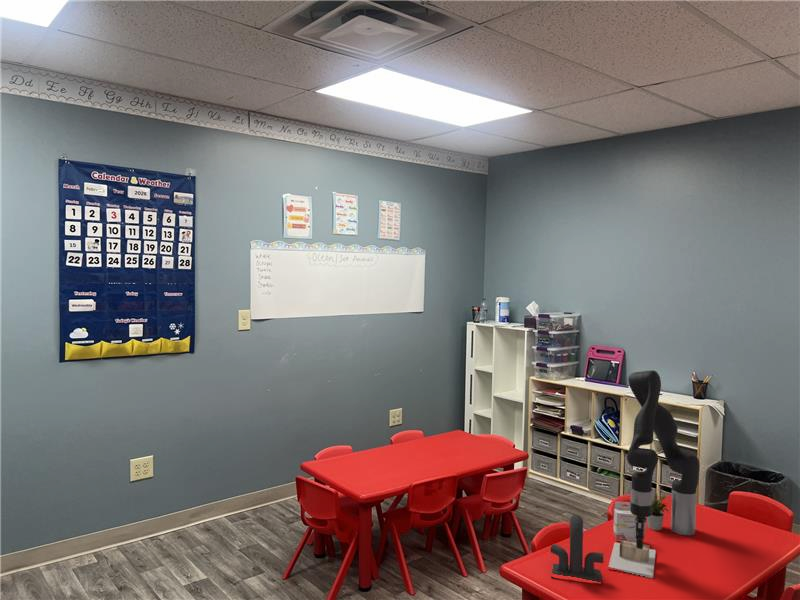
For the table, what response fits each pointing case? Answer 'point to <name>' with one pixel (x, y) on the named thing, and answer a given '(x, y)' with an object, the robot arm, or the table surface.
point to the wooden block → (634, 551)
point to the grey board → (632, 563)
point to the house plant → (657, 513)
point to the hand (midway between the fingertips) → (640, 543)
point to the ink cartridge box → (624, 522)
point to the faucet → (577, 555)
